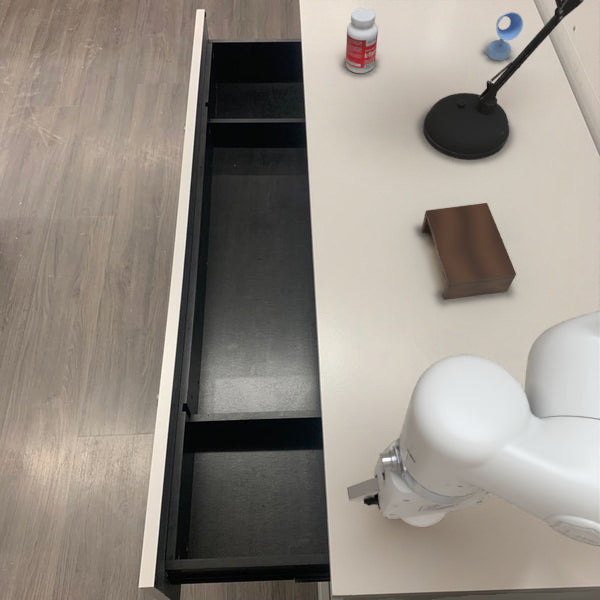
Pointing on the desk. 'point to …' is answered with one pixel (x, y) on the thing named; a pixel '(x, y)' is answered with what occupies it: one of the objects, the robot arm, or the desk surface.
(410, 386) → the desk surface
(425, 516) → the lightbulb
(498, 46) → the spotlight
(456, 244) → the brown wooden stand
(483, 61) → the desk surface
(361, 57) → the pill bottle
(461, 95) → the desk lamp
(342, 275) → the desk surface
